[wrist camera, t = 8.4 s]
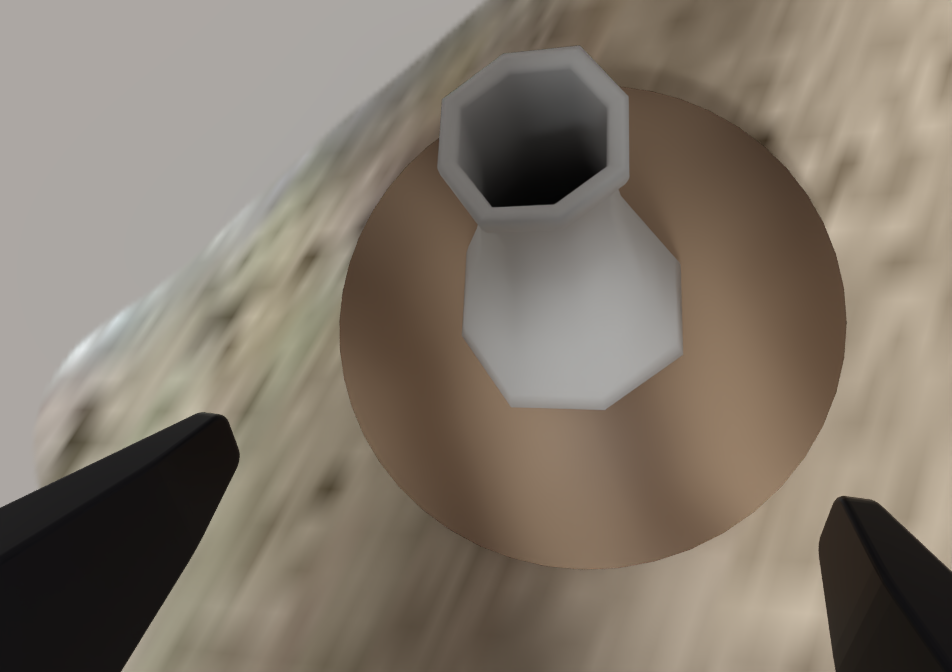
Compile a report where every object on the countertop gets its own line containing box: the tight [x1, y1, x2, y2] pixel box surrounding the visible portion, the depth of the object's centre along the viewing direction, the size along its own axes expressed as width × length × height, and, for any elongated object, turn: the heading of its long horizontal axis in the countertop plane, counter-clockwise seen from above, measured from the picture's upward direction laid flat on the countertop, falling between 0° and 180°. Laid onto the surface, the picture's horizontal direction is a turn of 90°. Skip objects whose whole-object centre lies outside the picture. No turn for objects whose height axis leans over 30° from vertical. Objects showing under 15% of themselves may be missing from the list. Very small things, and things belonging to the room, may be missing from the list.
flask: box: [437, 45, 683, 410], centre depth 14 cm, size 7×7×10 cm
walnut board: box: [340, 87, 847, 569], centre depth 19 cm, size 16×16×1 cm
